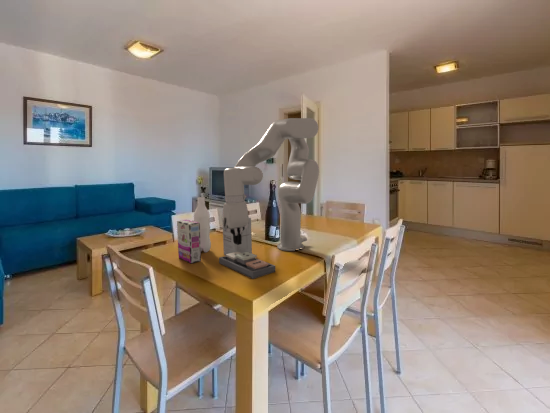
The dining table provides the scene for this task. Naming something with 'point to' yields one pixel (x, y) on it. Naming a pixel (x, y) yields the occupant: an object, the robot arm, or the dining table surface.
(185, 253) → the candy bar box
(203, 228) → the water bottle
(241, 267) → the gray rectangular tray
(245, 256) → the tile
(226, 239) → the supplement box
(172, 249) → the dining table surface
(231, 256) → the tile
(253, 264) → the tile
